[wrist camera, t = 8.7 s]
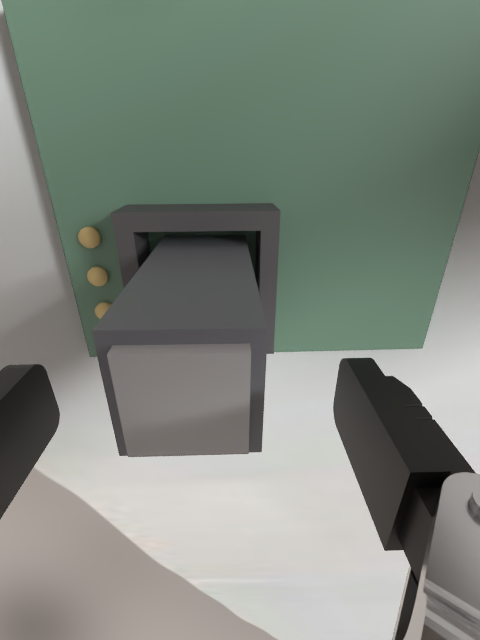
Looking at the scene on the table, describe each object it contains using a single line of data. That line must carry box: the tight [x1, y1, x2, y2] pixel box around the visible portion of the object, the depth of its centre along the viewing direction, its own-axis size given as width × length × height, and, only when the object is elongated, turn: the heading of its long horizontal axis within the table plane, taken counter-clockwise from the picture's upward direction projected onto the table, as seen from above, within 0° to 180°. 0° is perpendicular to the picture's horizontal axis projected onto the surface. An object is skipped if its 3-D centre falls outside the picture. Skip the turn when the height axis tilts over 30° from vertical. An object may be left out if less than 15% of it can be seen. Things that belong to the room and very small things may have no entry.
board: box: [1, 0, 480, 357], centre depth 15 cm, size 20×16×4 cm
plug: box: [92, 235, 268, 457], centre depth 13 cm, size 4×4×10 cm
